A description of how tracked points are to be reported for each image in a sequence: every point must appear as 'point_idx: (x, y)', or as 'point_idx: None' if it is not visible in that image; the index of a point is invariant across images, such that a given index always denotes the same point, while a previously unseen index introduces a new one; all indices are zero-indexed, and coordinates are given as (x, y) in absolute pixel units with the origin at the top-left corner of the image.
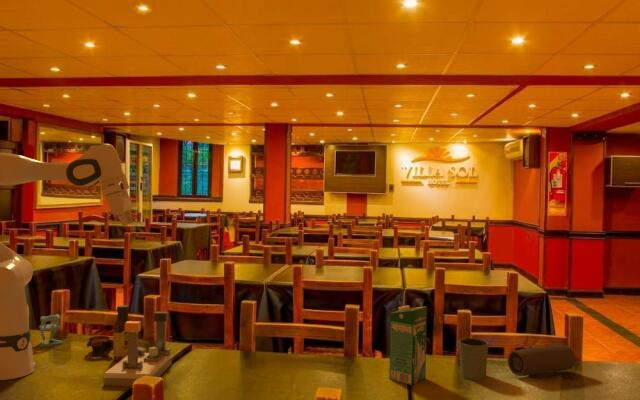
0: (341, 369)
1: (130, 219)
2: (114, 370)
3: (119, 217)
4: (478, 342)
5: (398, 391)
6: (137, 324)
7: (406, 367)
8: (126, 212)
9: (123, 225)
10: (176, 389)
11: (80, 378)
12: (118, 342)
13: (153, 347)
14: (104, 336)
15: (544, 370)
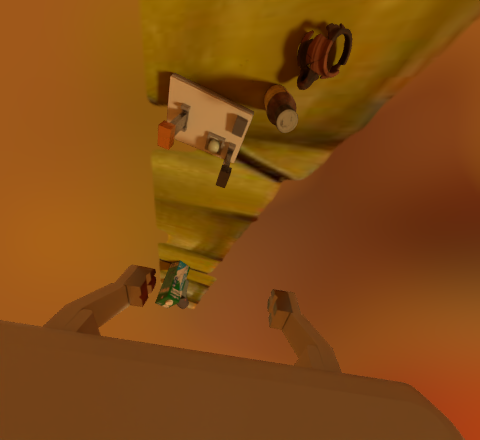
0: (198, 250)
1: (270, 316)
2: (179, 91)
3: (70, 308)
4: (183, 297)
5: (162, 257)
6: (158, 143)
7: (170, 270)
8: (302, 366)
9: (130, 269)
10: (163, 155)
11: (205, 27)
12: (267, 98)
13: (215, 148)
14: (323, 67)
15: None
